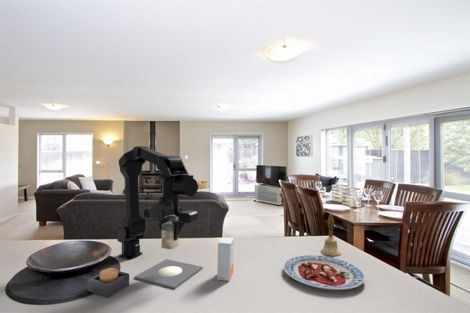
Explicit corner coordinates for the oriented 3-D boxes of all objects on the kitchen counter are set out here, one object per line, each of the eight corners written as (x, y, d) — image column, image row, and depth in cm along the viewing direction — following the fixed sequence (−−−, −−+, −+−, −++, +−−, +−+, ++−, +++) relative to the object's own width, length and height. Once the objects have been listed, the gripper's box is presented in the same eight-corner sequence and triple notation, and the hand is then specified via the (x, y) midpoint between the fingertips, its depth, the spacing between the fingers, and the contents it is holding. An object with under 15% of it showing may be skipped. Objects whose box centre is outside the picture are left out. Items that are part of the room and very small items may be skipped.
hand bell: (316, 251, 111) (317, 214, 111) (327, 247, 116) (327, 211, 116) (335, 257, 105) (335, 217, 105) (345, 253, 110) (345, 214, 110)
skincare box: (229, 281, 84) (230, 243, 84) (216, 280, 85) (217, 242, 85) (233, 273, 90) (234, 238, 90) (221, 271, 91) (222, 237, 91)
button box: (87, 291, 77) (87, 279, 77) (110, 279, 84) (110, 268, 84) (107, 297, 73) (107, 285, 73) (129, 285, 81) (129, 273, 81)
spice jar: (161, 247, 88) (161, 223, 88) (169, 244, 92) (169, 221, 92) (171, 249, 86) (171, 225, 86) (178, 246, 90) (178, 222, 90)
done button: (95, 281, 77) (95, 273, 77) (110, 274, 82) (110, 266, 82) (107, 285, 75) (107, 276, 75) (121, 278, 80) (121, 269, 80)
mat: (134, 278, 85) (134, 276, 85) (166, 260, 100) (166, 258, 100) (174, 289, 79) (174, 286, 79) (202, 268, 93) (202, 266, 93)
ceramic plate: (276, 285, 82) (276, 276, 82) (290, 256, 106) (290, 249, 106) (368, 304, 72) (368, 293, 72) (361, 267, 96) (361, 259, 96)
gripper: (131, 194, 86) (131, 242, 86) (179, 199, 78) (178, 251, 78) (155, 190, 96) (154, 233, 96) (199, 194, 88) (198, 240, 88)
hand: (170, 239), depth 89 cm, fingers closed on spice jar, 4 cm apart
